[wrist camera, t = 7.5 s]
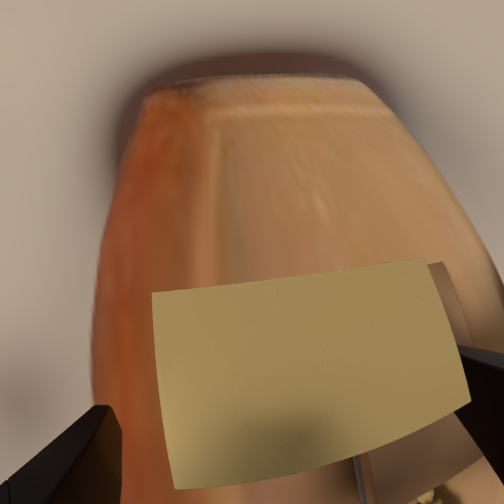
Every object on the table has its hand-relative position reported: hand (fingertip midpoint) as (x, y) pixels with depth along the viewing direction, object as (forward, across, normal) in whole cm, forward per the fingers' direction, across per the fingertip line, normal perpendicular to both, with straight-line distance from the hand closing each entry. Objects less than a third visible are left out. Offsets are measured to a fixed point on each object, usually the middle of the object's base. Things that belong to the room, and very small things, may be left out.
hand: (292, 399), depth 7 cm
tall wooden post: (+5, 0, +4) cm, 7 cm away
